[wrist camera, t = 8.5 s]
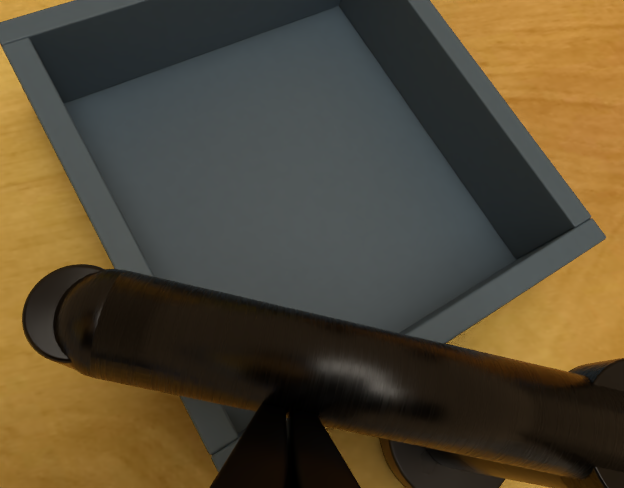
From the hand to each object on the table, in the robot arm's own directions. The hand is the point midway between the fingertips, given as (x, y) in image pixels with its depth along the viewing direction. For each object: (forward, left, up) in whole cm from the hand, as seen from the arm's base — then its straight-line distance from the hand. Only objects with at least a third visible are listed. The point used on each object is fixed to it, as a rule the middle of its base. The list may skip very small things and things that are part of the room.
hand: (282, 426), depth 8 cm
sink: (+8, -3, -9) cm, 12 cm away
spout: (0, -2, -2) cm, 3 cm away
